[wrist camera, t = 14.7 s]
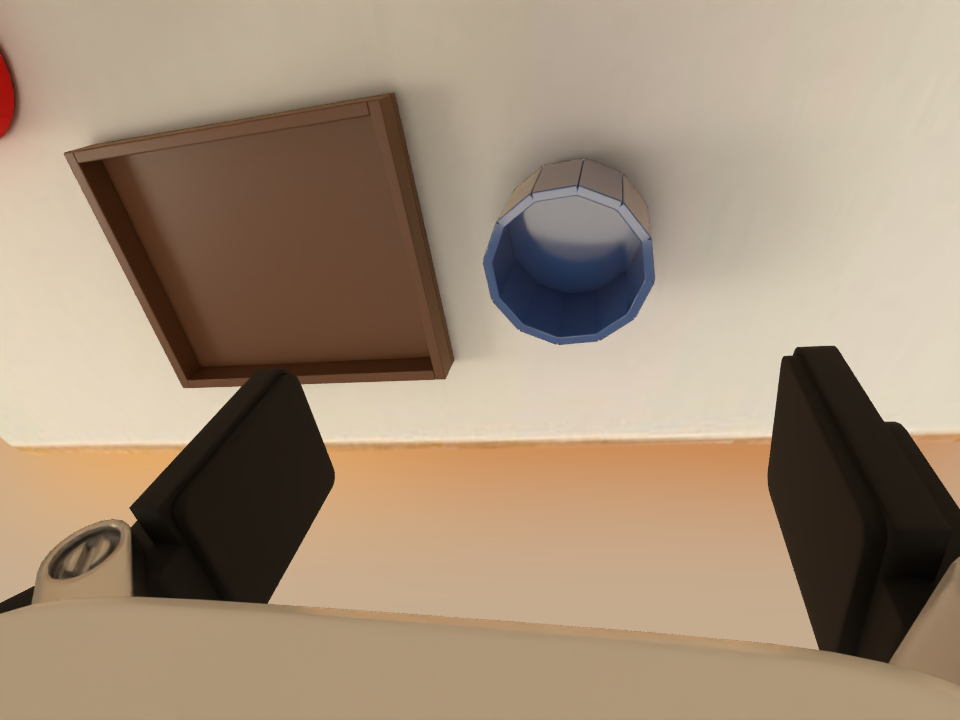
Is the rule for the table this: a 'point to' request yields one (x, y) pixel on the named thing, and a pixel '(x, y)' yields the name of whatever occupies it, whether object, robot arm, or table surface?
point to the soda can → (5, 97)
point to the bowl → (571, 253)
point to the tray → (276, 245)
